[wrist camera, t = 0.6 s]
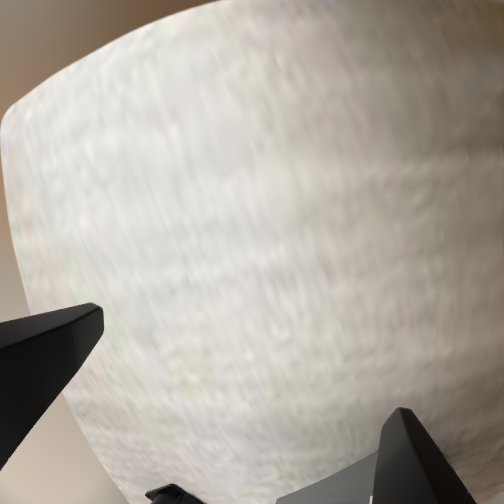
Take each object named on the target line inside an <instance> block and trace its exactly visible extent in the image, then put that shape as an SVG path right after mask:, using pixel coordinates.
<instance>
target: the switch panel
mask: <svg viewBox="0 0 504 504" xmlns="http://www.w3.org/2000/svg"><path fill="white" fill-rule="evenodd" d="M442 454H443V453H442ZM443 455H444V454H443ZM377 456H378V451H377V452H375V453H373V454H372V455H370V456H368V457H366V458H365V459H363V460H361V461H359V462H357V463H355V464H354V465H352V466H350V467H348V468H346V469H344V470H342V471H340V472H338V473H336V474H334V475H332V476H330V477H328V478H326V479H324V480H321V481H319V482H317V483H315V484H313V485H310V486H308V487H306V488H303V489H301V490H299V491H296V492H294V493H291V494H289V495H286V496H284V497H281V498H279V499H277V502H276V504H369V503H370V496H373V485H374V474H375V467H376V462H377ZM444 457H445V458H446V456H445V455H444ZM446 459H447V458H446ZM447 461H448V462H449V464H450V465H451V467H452V468H453V466H452V463H451V462H450V461H449V460H448V459H447ZM453 470H454V468H453Z"/></svg>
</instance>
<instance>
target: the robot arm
mask: <svg viewBox="0 0 504 504" xmlns="http://www.w3.org/2000/svg"><path fill="white" fill-rule="evenodd" d="M103 332H104V315H103V309H102V308H101V307H100V306H98V305H96V304H94V303H86V304H82V305H77V306H73V307H69V308H64V309H60V310H55V311H51V312H46V313H42V314H37V315H33V316H28V317H24V318H19V319H15V320H10V321H6V322H1V323H0V471H1V469H2V468H3V466H4V465H5V464H6V462H7V461H8V458H10V457H11V455H12V454H13V453H14V451H15V450H16V449H17V447H18V446H19V445H20V443H21V442H22V441H23V439H24V438H25V437H26V435H27V434H28V433H29V431H30V430H31V429H32V428H33V426H34V425H35V424H36V422H37V421H38V420H39V419H40V417H41V416H42V415H43V414H44V412H45V411H46V410H47V409H48V407H49V406H50V405H51V403H52V402H53V401H54V400H55V399H56V397H57V396H58V394H60V392H61V391H62V390H63V389H64V388H65V386H66V385H67V384H68V383H69V381H70V380H71V379H72V378H73V377H74V375H75V374H76V373H77V372H78V370H79V369H80V368H81V366H82V365H83V363H84V362H85V360H86V359H87V357H88V356H89V354H90V353H91V351H92V350H93V348H94V347H95V345H96V344H97V342H98V341H99V339H100V338H101V336H102V334H103ZM145 496H146V497H147V498H149V499H150V500H151V501H152V503H151V504H201V503H200V502H198V501H197V500H195V499H194V498H193V497H191V496H190V495H188V494H187V493H185V492H184V491H183V490H181V489H180V488H178V487H177V486H176V485H174V484H169V485H166V486H163V487H160V488H158V489H155V490H152V491H149V492H146V494H145ZM372 504H477V503H476V502H475V501H474V499H473V498H472V496H471V495H470V493H468V490H467V489H466V487H465V486H464V484H463V483H462V481H461V480H460V478H459V477H458V475H457V474H456V472H455V471H454V470H453V468H452V467H451V465H450V464H449V462H448V461H447V459H446V458H445V457H444V455H443V454H442V452H441V451H440V449H439V448H438V447H437V445H436V444H435V442H434V441H433V439H432V438H431V437H430V435H429V434H428V432H427V431H426V430H425V428H424V427H423V425H422V424H421V423H420V421H419V420H418V418H417V417H416V416H415V414H414V413H413V412H412V410H410V409H408V408H402V407H398V408H397V409H395V411H394V412H393V413H392V414H391V416H390V417H389V418H388V420H387V421H386V422H385V423H384V425H383V427H382V430H381V437H380V444H379V450H378V456H377V462H376V467H375V474H374V485H373V497H372Z"/></svg>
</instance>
